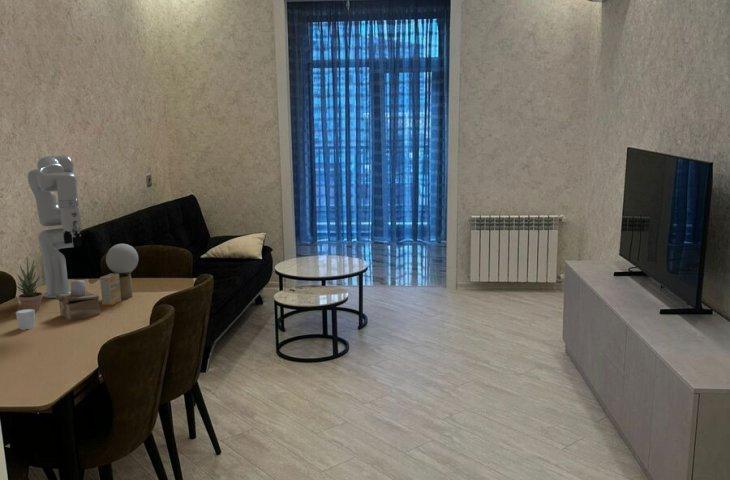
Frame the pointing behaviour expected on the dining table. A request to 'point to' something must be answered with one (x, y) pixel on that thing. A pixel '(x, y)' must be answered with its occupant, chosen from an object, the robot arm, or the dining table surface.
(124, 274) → the lamp
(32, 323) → the white cylinder
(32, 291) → the potted plant
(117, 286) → the supplement box
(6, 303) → the dining table surface
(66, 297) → the lid
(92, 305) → the box
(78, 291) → the tape roll
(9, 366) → the dining table surface
